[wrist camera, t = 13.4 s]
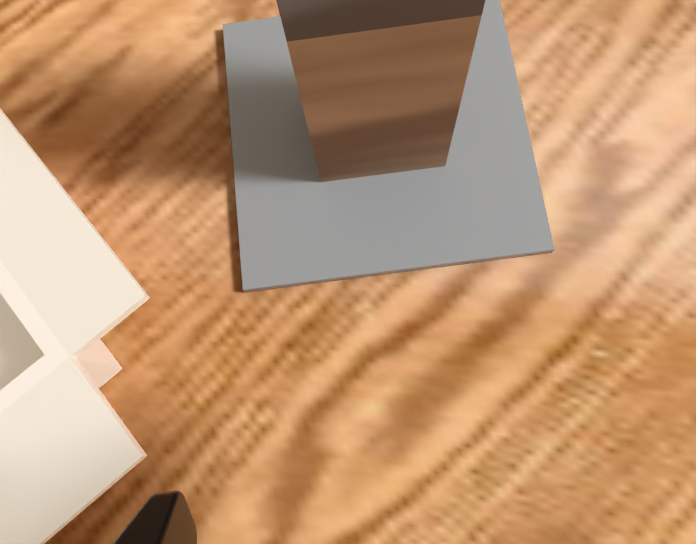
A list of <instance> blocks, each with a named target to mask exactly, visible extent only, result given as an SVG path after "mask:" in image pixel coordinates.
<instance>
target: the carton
mask: <svg viewBox="0 0 696 544" xmlns="http://www.w3.org/2000/svg"><path fill="white" fill-rule="evenodd" d="M149 298H150V297H149V296H148V295H147V294H146V292H145V291H144V290H143V288H142V287H141V286H140V285H139V283H138V282H137V281H136V280H135V278H134V277H133V276H132V275H131V273H130V272H129V271H128V269H127V268H126V267H125V266H124V264H123V263H122V262H121V261H120V259H119V258H118V257H117V256H116V254H115V253H114V252H113V250H112V249H111V248H110V247H109V245H108V244H107V243H106V242H105V240H104V239H103V238H102V237H101V235H100V234H99V233H98V231H97V230H96V229H95V228H94V226H93V225H92V224H91V223H90V221H89V220H88V219H87V217H86V216H85V215H84V214H83V212H82V211H81V210H80V209H79V207H78V206H77V205H76V204H75V202H74V201H73V200H72V198H71V197H70V196H69V195H68V193H67V192H66V191H65V190H64V188H63V187H62V186H61V185H60V183H59V182H58V181H57V179H56V178H55V177H54V176H53V174H52V173H51V172H50V171H49V169H48V168H47V167H46V165H45V164H44V163H43V162H42V160H41V159H40V158H39V157H38V155H37V154H36V153H35V152H34V150H33V149H32V148H31V146H30V145H29V144H28V143H27V141H26V140H25V139H24V138H23V136H22V135H21V134H20V133H19V131H18V130H17V129H16V127H15V126H14V125H13V124H12V122H11V121H10V120H9V119H8V117H7V116H6V115H5V114H4V112H3V111H2V110H1V108H0V544H45V543H46V542H47V541H48V540H49V539H50V538H52V537H53V536H54V535H55V534H56V533H57V532H59V531H60V530H61V529H62V528H63V527H64V526H66V525H67V524H68V523H69V522H70V521H71V520H73V519H74V518H75V517H76V516H77V515H78V514H80V513H81V512H82V511H83V510H84V509H86V508H87V507H88V506H89V505H90V504H91V503H93V502H94V501H95V500H96V499H97V498H98V497H100V496H101V495H102V494H103V493H104V492H105V491H107V490H108V489H109V488H110V487H111V486H112V485H114V484H115V483H116V482H117V481H118V480H119V479H121V478H122V477H123V476H124V475H125V474H126V473H128V472H129V471H130V470H131V469H132V468H134V467H135V466H136V465H137V464H138V463H139V462H141V461H142V460H143V459H144V458H145V457H146V456H147V454H146V453H145V452H144V450H143V449H142V448H141V446H140V445H139V443H138V442H137V441H136V439H135V438H134V437H133V435H132V434H131V432H130V431H129V430H128V428H127V427H126V426H125V424H124V423H123V421H122V420H121V419H120V417H119V416H118V415H117V413H116V412H115V410H114V409H113V408H112V406H111V405H110V404H109V402H108V401H107V399H106V398H105V397H104V395H103V394H102V393H101V391H100V390H99V388H100V387H101V386H103V385H104V384H105V383H106V382H107V381H109V380H110V379H111V378H112V377H113V376H115V375H116V374H117V373H118V372H119V371H121V370H122V367H121V366H120V365H119V363H118V362H117V361H116V359H115V358H114V357H113V355H112V354H111V353H110V351H109V350H108V348H107V347H106V346H105V344H104V343H103V342H102V340H101V339H100V338H101V337H103V336H104V335H105V334H106V333H108V332H109V331H110V330H111V329H113V328H114V327H115V326H116V325H117V324H119V323H120V322H121V321H122V320H124V319H125V318H126V317H127V316H129V315H130V314H131V313H132V312H133V311H135V310H136V309H137V308H138V307H140V306H141V305H142V304H143V303H145V302H146V301H147V300H148V299H149Z"/></svg>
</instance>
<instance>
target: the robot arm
mask: <svg viewBox="0 0 696 544" xmlns="http://www.w3.org/2000/svg"><path fill="white" fill-rule="evenodd" d="M113 544H197V533H196V526H195V523H194V521H193V518H192V515H191V513H190V510H189V508H188V505H187V502H186V500H185V497H184V495H183V494H182V493H181V492H180V491H170V492H162V493H156V494H154V495H153V496H151V497H150V498H149V499H148V501H147V502H146V503H145V504H144V506H143V507H142V508H141V509H140V511H139V512H138V513H137V514H136V516H135V517H134V518H133V519H132V521H131V522H130V523H129V524H128V526H127V527H126V528H125V529H124V531H123V532H122V533H121V534H120V536H119V537H118V538H117V539H116V541H115V542H114V543H113Z"/></svg>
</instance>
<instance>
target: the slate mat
mask: <svg viewBox="0 0 696 544" xmlns="http://www.w3.org/2000/svg"><path fill="white" fill-rule="evenodd" d="M223 35H224V49H225V62H226V75H227V88H228V101H229V115H230V128H231V141H232V154H233V167H234V181H235V194H236V207H237V220H238V233H239V247H240V260H241V273H242V286H243V291H244V292H251V291H259V290H267V289H274V288H282V287H290V286H298V285H305V284H313V283H321V282H328V281H336V280H344V279H352V278H359V277H367V276H375V275H382V274H390V273H398V272H406V271H413V270H421V269H429V268H436V267H444V266H452V265H460V264H467V263H475V262H483V261H490V260H498V259H506V258H514V257H521V256H529V255H537V254H544V253H552V252H553V251H554V245H553V241H552V236H551V232H550V227H549V223H548V218H547V213H546V209H545V204H544V200H543V195H542V191H541V186H540V182H539V177H538V172H537V168H536V163H535V159H534V154H533V150H532V145H531V141H530V136H529V131H528V127H527V122H526V118H525V113H524V109H523V104H522V100H521V95H520V90H519V86H518V81H517V77H516V72H515V68H514V63H513V59H512V54H511V49H510V45H509V40H508V36H507V31H506V27H505V22H504V18H503V13H502V8H501V4H500V0H485V4H484V8H483V12H482V17H481V21H480V25H479V29H478V33H477V37H476V41H475V46H474V50H473V54H472V58H471V62H470V66H469V70H468V74H467V79H466V83H465V87H464V91H463V95H462V99H461V103H460V108H459V112H458V116H457V120H456V124H455V128H454V132H453V136H452V141H451V145H450V149H449V153H448V157H447V161H446V165H445V166H443V167H435V168H428V169H420V170H412V171H405V172H397V173H389V174H381V175H374V176H366V177H358V178H351V179H343V180H335V181H328V182H321V180H320V176H319V172H318V168H317V164H316V159H315V155H314V151H313V147H312V143H311V139H310V135H309V131H308V127H307V123H306V119H305V115H304V111H303V106H302V102H301V98H300V94H299V90H298V86H297V82H296V78H295V74H294V70H293V66H292V62H291V57H290V53H289V49H288V45H287V41H286V37H285V33H284V29H283V25H282V21H281V17H272V18H265V19H258V20H251V21H244V22H237V23H229V24H223Z"/></svg>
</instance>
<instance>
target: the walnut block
mask: <svg viewBox="0 0 696 544" xmlns="http://www.w3.org/2000/svg"><path fill="white" fill-rule="evenodd" d="M277 4H278V8H279V13H280V17H281V21H282V25H283V29H284V33H285V37H286V41H287V45H288V49H289V53H290V57H291V62H292V66H293V70H294V74H295V78H296V82H297V86H298V90H299V94H300V98H301V102H302V106H303V111H304V115H305V119H306V123H307V127H308V131H309V135H310V139H311V143H312V147H313V151H314V155H315V159H316V164H317V168H318V172H319V176H320V180H321V182H328V181H335V180H343V179H351V178H358V177H366V176H374V175H381V174H389V173H397V172H405V171H412V170H420V169H428V168H435V167H443V166H445V165H446V161H447V157H448V153H449V149H450V145H451V141H452V136H453V132H454V128H455V124H456V120H457V116H458V112H459V108H460V103H461V99H462V95H463V91H464V87H465V83H466V79H467V74H468V70H469V66H470V62H471V58H472V54H473V50H474V46H475V41H476V37H477V33H478V29H479V25H480V21H481V17H482V12H483V8H484V4H485V0H277Z"/></svg>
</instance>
